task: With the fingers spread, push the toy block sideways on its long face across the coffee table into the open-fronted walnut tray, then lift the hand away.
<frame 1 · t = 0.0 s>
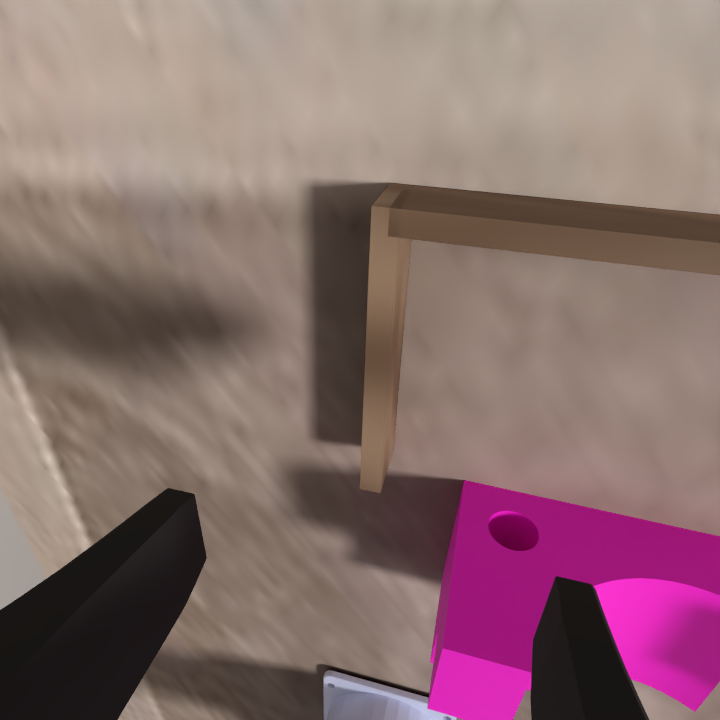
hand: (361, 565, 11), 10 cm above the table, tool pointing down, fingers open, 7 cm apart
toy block: (629, 564, 23), on the table
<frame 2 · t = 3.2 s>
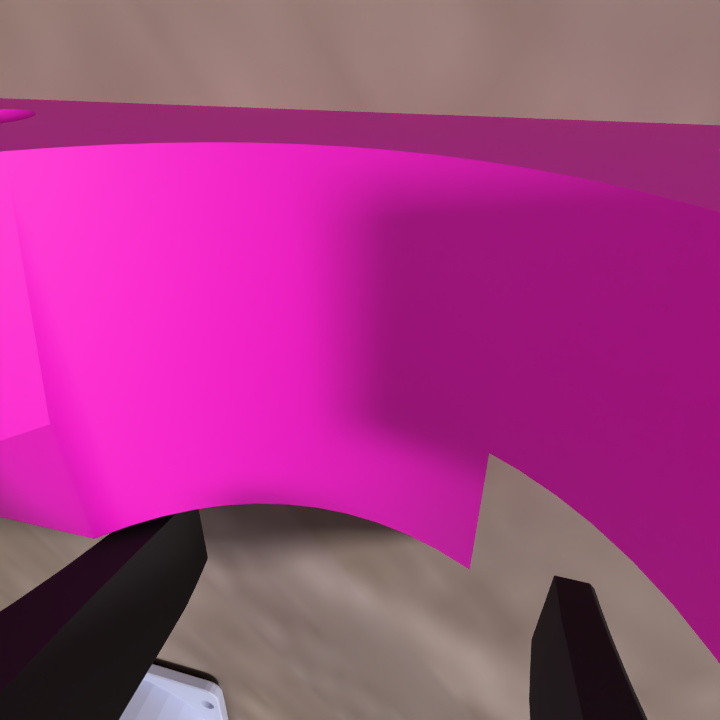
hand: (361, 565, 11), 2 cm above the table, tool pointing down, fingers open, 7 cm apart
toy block: (357, 280, 11), on the table, touching gripper
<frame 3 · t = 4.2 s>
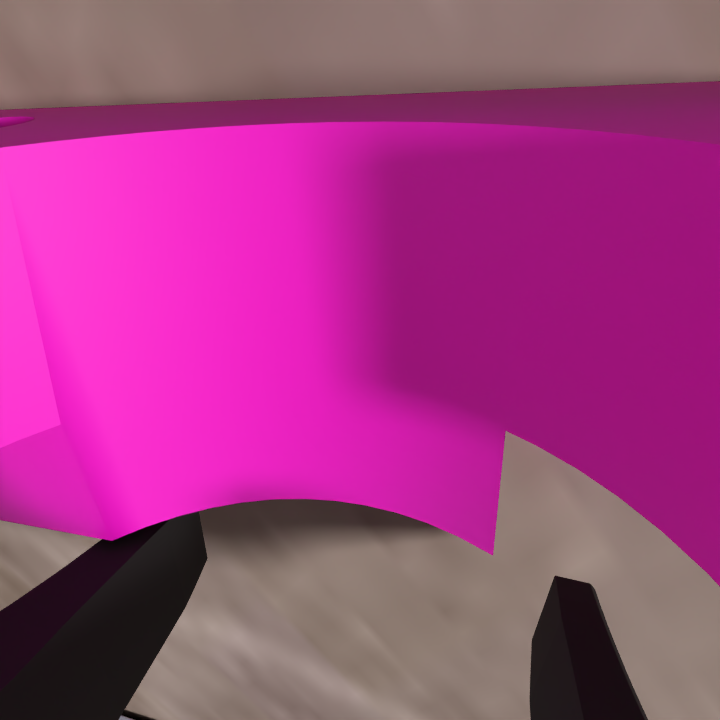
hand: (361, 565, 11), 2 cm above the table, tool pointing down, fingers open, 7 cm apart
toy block: (363, 270, 11), on the table, touching gripper
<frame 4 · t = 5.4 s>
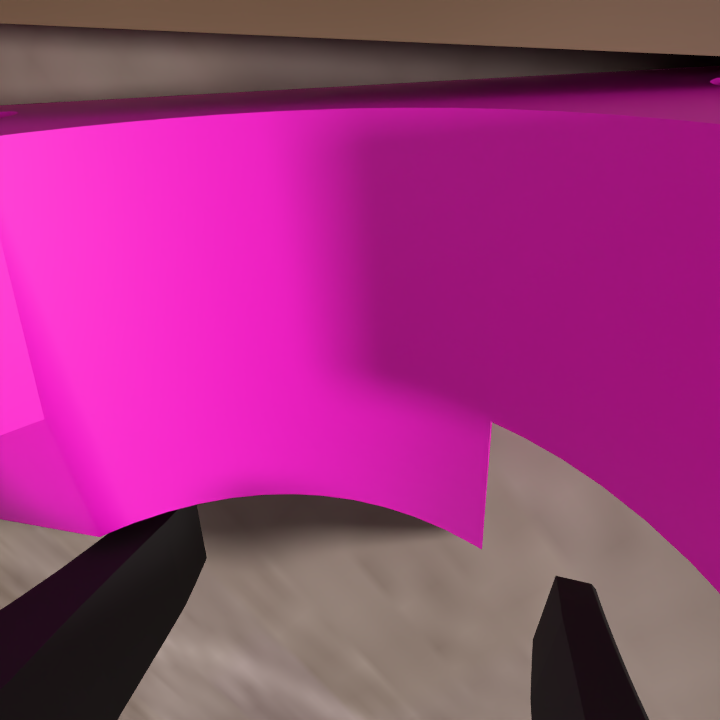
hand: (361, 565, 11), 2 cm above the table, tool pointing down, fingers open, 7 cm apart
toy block: (352, 264, 11), on the table
tray: (399, 314, 10), on the table
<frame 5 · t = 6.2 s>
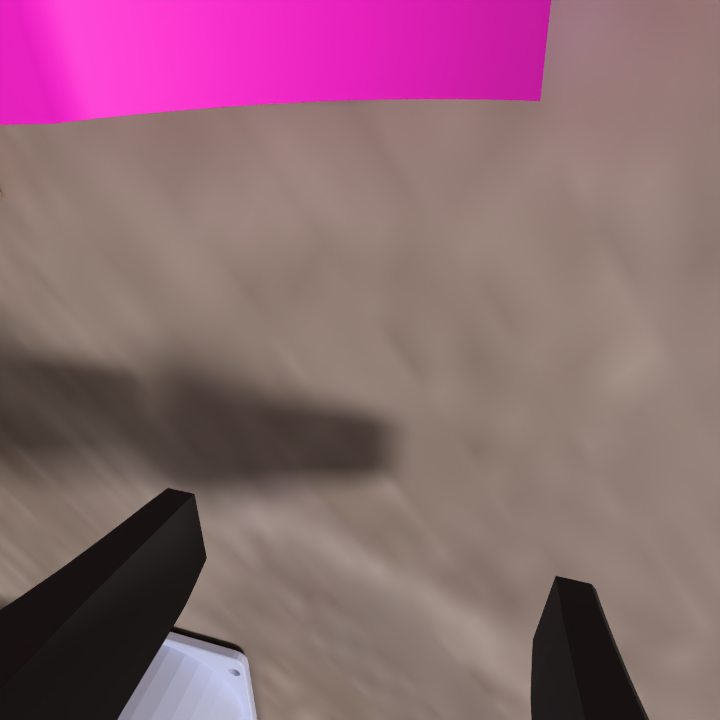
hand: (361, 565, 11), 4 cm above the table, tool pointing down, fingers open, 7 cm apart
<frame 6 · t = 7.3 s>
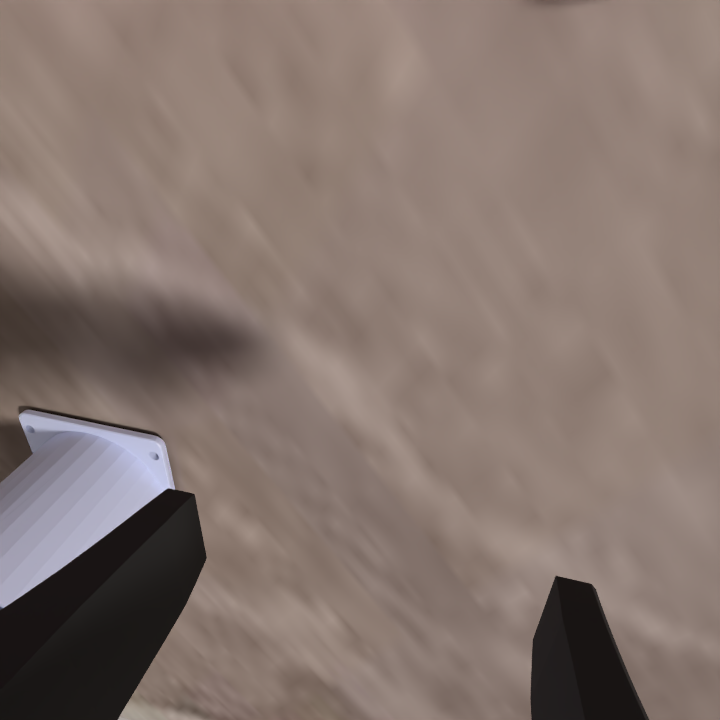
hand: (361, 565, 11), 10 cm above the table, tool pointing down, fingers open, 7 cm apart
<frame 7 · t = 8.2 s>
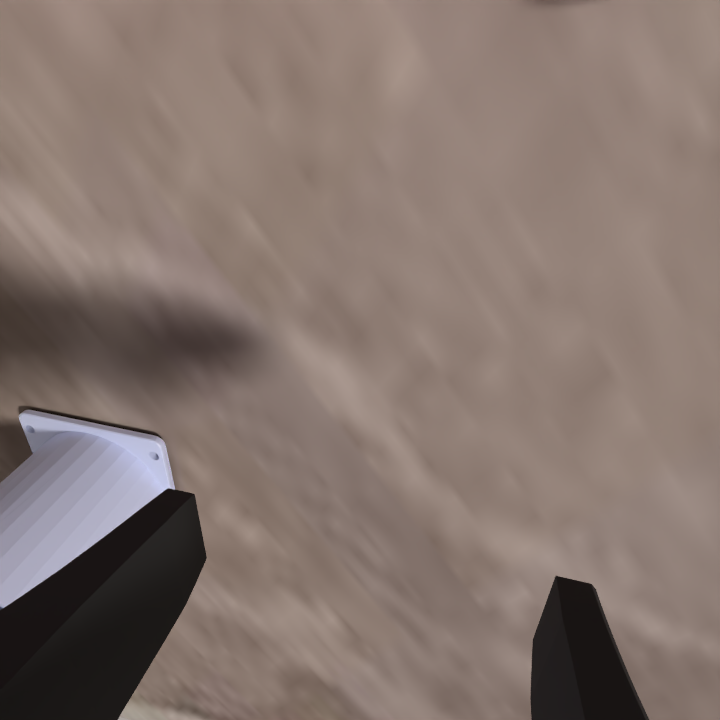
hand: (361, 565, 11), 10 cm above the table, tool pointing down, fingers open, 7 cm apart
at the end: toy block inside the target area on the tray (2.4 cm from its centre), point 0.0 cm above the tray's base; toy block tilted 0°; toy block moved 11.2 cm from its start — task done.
